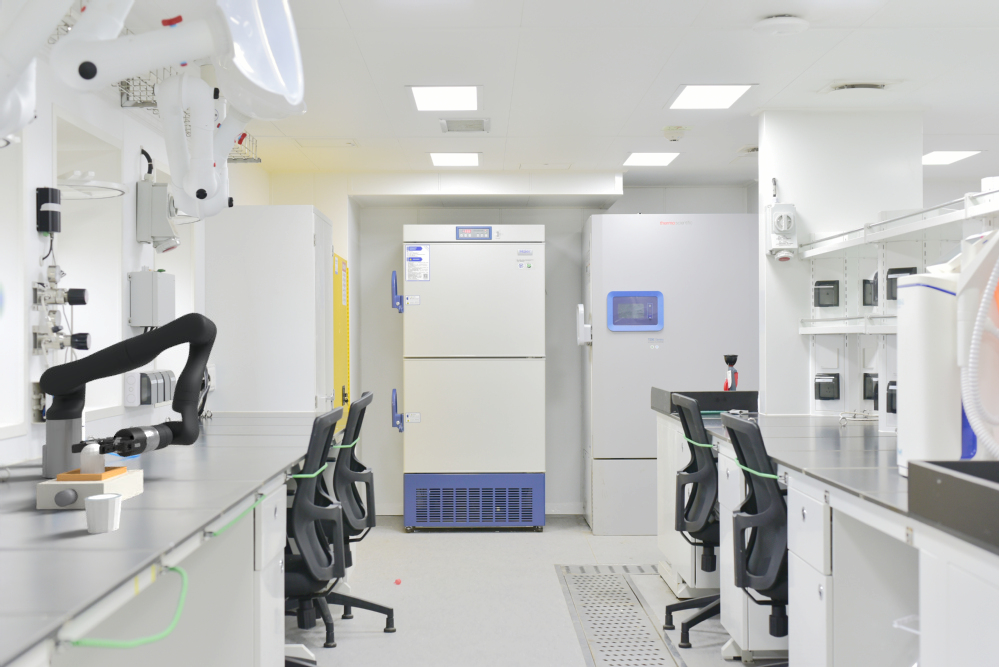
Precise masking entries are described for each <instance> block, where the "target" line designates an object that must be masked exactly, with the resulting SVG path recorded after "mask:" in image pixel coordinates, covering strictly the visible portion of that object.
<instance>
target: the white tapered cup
mask: <svg viewBox="0 0 999 667" xmlns="http://www.w3.org/2000/svg"><path fill="white" fill-rule="evenodd" d="M122 502H123V501H122V495H121V494H113V493H110V494H99V495H94V496H90V497H86V498H85V508H86V509H85V517H86V524H87V525H86V526H87V527H86V528H87V533H89V534H106V533H110V532H114V531H116V530H117V531H118V530H119V528H120V520H121V509H122Z"/></svg>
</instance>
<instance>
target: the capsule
mask: <svg viewBox="0 0 999 667" xmlns="http://www.w3.org/2000/svg"><path fill="white" fill-rule="evenodd" d="M99 446H100V445H98V444H89V445H87V446H85V447H84V448H83V450H82V451H81V455H80V474H101V473H104V472H105V467H106V454H99Z"/></svg>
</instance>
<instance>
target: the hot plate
mask: <svg viewBox="0 0 999 667" xmlns="http://www.w3.org/2000/svg"><path fill="white" fill-rule="evenodd" d="M127 467H128V466H105V472H104V473H101V474H80V468H79V469H75V470H72V471H68V472H65V473H61V474H58V475H57V478H51V479H49V480H46V481H42V482H39V483H36V510H86V508H85V498H86V497H90V496H94V495H99V494H110V493H113V494H121V495H122V501H121V502H124V501H125V500H129V499H131V498H134V497H136V496H138V495H141V494H143V493H144V469H127Z"/></svg>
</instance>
